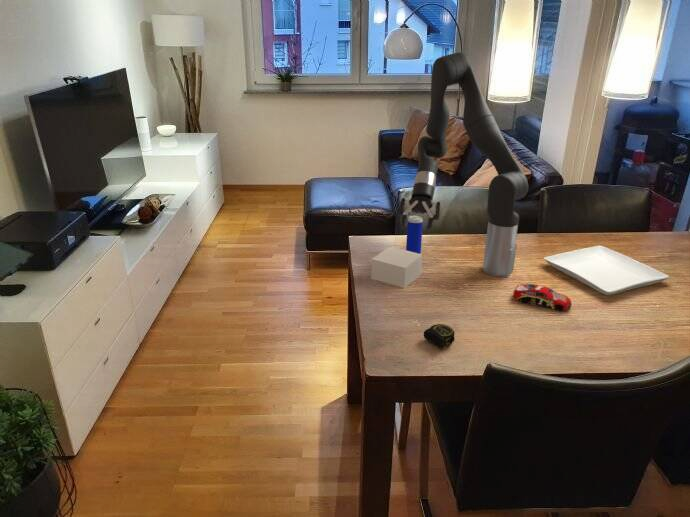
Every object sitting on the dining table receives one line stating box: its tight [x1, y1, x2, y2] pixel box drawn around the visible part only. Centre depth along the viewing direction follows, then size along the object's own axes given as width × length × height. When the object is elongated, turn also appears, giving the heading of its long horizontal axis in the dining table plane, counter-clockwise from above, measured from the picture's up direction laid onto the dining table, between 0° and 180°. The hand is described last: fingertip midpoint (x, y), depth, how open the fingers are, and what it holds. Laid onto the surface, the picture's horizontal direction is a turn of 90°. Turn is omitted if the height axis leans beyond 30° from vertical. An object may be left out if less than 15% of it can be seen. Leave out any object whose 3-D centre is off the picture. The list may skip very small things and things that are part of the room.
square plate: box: [543, 245, 670, 296], centre depth 172 cm, size 27×27×4 cm
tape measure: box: [423, 323, 455, 350], centre depth 136 cm, size 7×7×4 cm
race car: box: [512, 283, 572, 312], centre depth 155 cm, size 16×7×5 cm, turn 61°
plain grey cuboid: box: [370, 246, 424, 289], centre depth 170 cm, size 12×12×7 cm
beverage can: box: [405, 214, 424, 254], centre depth 181 cm, size 5×5×15 cm
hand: (415, 227), depth 182 cm, fingers open, 8 cm apart
